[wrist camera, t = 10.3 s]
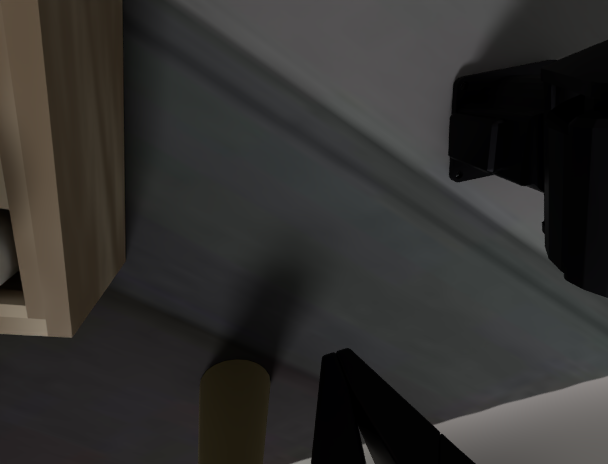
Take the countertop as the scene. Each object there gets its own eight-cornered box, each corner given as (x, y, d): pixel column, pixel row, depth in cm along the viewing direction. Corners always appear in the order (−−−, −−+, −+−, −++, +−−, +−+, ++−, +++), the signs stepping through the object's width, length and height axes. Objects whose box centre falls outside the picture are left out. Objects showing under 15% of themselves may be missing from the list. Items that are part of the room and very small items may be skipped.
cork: (184, 381, 27) (144, 557, 17) (244, 348, 26) (239, 511, 16) (227, 416, 29) (215, 586, 20) (283, 387, 29) (298, 547, 19)
